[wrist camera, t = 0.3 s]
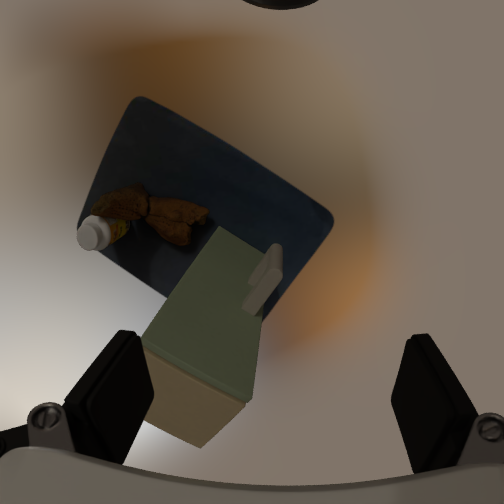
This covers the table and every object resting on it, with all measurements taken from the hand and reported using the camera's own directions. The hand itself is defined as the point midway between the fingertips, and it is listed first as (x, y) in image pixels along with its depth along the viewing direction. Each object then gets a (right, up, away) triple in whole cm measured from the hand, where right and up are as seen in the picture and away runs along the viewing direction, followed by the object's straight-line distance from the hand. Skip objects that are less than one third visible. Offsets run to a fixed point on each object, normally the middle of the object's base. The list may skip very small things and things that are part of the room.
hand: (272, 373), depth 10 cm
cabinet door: (-1, +8, +40) cm, 41 cm away
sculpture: (-15, +12, +40) cm, 45 cm away
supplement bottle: (-24, +9, +42) cm, 49 cm away
